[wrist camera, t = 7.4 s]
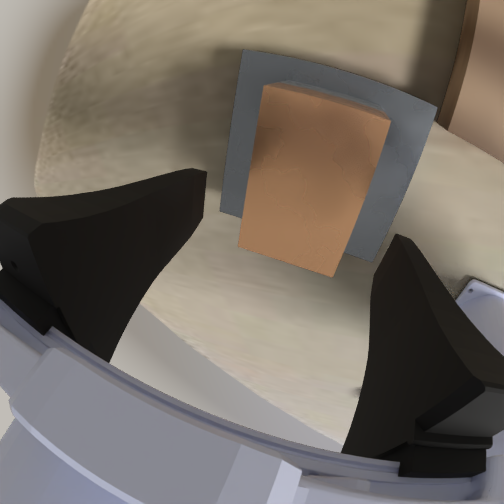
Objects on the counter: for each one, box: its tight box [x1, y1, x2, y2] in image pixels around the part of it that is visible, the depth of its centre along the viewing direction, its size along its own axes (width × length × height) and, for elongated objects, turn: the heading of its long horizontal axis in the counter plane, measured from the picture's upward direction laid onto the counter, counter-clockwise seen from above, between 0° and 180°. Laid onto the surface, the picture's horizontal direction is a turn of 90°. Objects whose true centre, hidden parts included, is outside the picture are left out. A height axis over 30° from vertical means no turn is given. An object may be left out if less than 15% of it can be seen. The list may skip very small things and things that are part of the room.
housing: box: [238, 80, 391, 278], centre depth 14 cm, size 8×5×5 cm, turn 171°
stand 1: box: [220, 49, 438, 262], centre depth 17 cm, size 11×11×2 cm
